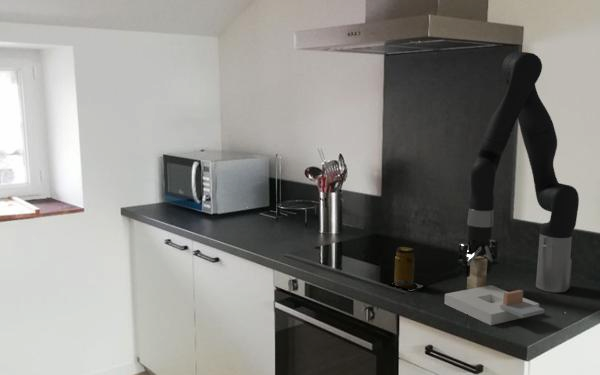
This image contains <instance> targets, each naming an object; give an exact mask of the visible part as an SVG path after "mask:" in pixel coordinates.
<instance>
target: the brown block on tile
mask: <svg viewBox="0 0 600 375" xmlns="http://www.w3.org/2000/svg"><path fill="white" fill-rule="evenodd" d="M523 298H524V290H522V289H516V290H512V291H507V292H506V293H504V298H503V305H500V309H502V310H505V311H507V312H510V313H512V314H514V315H517V316H519V317H521V318H520V319H524V318H528V317H532V316H536V315H541V314H545V308H542V307H540V306H539V307H537V306H535V305H532V304H529V303H527V302H524V301H523Z"/></svg>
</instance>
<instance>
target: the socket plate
mask: <svg viewBox="0 0 600 375" xmlns="http://www.w3.org/2000/svg"><path fill="white" fill-rule="evenodd" d="M506 292H508V291H507V290H505V289H502V288H499V287H497V286H495V285H492V284H491V285H486V286H484V287H479V288H473V289H468V288H467V289H462V290H458V291H454V292H448V293H445V294H444V304H445V305H447V306H448V307H451V308H453V309H454V310H457V311H458V312H461V313H464V314H466V315H467V314H468V316H469V317H471V318H474V319H477V320H478V321H481V322H483V323H485V324H487V325H489V326H493V325H497V324H498V325H499V324H501V323H502V324H503V323H507V322H511V321H515V320H519V319H522V318H521V317H519V316H517V315H514V314H512V313H510V312H507V311H505V310H502V309H500V305H503V298H504V293H506ZM523 301H524V302H527V303H529V304H532V305H535V306H537V307H540V303H538V302H536V301H534V300H530V299H528V298H525V297H523Z"/></svg>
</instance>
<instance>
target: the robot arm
mask: <svg viewBox="0 0 600 375" xmlns="http://www.w3.org/2000/svg"><path fill="white" fill-rule="evenodd" d="M501 69H502V70H501V71H502V75H503V78H504V81H505V83H506V86H507V89H506V92H505V94H504V97H503V99H502V100H501V102H500V104H499V105H498V107H497V108H496V110H495V112H494V113H493V115H492V116H491V118H490V120H489V122H488V124H487V127H486V130H485V132H484V135H483V137H482V141H481V144H480V145H481V146H480V149H479V151H478V154H477V155H476V159H475V161H474V163H473V164H472V166H471V169H470V195H469V205H468V206H469V207H468V214H467V223H466V226H467V227H466V238H467V243H463V242H460V243H459V244H458V253H457V262H458V263H460V264H462V270H461V272H462V276H463V277H465V278H467V277H469V276H470V264H471V262H472V260H474V259H475V258H476V257H479V256H481V257H484V258H487V274H488V275H489V274H490V273H491V270H492V262H494V260H497V259H498V243H499V242H498V240H495V239H493V232H494V230H493V229H494V228H493V227H494V204H495V194H494V189H495V181H496V180H495V178H496V173H497V170H498V169H499V164H500V162H501V158H502V155H503V153H504V151H505V149H506V147H507V144H508V142H509V139H510V138H511V134H512V132H513V129H514V127H515V124H516V122H517V120H518V126H519V128H520V133H521V138H522V141H523V145H524V147H525V150H526V154H527V158H528V161H529V165H530V170H531V173H532V179H533V184H534V189H535V190H534V191H535V198H536V201H537V204H538V205H539V207H541V209H543V210H544V211H547V212H549V213H550V218H549V221H548V222H543V223H541V225H540V226H539V227H540V228H539V240H538V250H537V251H538V254H537V265H536V276H535V277H536V279H535V287H536V288H537V289H539V290H541V291H544V292H548V293H565V292H567V291H568V289H570V287H571V286H570V285H571V274H572V273H571V272H572V265H573V264H572V262H573V260H572V258H571V254H572V253H571V251H572V250H571V249H572V242H573V241H572V238H573V232H574V230H575V227H576V225H577V219H578V218H577V217H578V213H579V212H578V210H579V204H580V201H579V200H580V198H579V197H580V196H579V192H578V190H577V189H576V188H575V187H574V186H572V185H570V184H564V183H561V182H559V181H558V179H557V175H556V172H555V168H554V161H555V156H556V152H557V148H558V137H557V133H556V129H555V126H554V122H553V120H552V118H551V115H550V113H549V111H548V110H547V108H546V106H545V105H544V103H543V102H542V100H541V98H540V96H539V94H538V91H537V88H536V87H537V86H536V83H537V82H538V80H539V78H540V76H541V74H542V70H543V64H542V60H541V58H540V57H539V56H538V55H536V54H535V53H532V52H527V51H513V52H511V53H509V54H508V55H507V56H506V57H505V58H504V59H503V62H502V66H501ZM468 258H469V259H468ZM487 274H486V275H487Z"/></svg>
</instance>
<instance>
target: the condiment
mask: <svg viewBox="0 0 600 375" xmlns="http://www.w3.org/2000/svg"><path fill="white" fill-rule="evenodd" d="M414 252H415V250H414V248H411V247H407V246H400V247H397V248H396V256H395V257H394V277H393V278H394V282H393V283H395V285H396V286H400V287H412V286H413V283H414V284H416V285H417V289H412V290H409V289H408V290H407V291H410V292H412V291H416V290H419V289H421V288H422V287H424V285H421V284H417V283H415V281H414V280H415V254H414ZM418 288H419V289H418Z"/></svg>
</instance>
